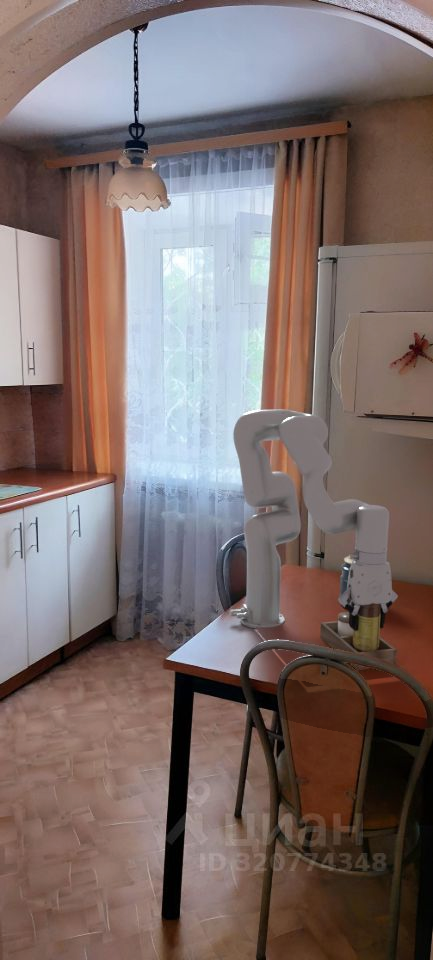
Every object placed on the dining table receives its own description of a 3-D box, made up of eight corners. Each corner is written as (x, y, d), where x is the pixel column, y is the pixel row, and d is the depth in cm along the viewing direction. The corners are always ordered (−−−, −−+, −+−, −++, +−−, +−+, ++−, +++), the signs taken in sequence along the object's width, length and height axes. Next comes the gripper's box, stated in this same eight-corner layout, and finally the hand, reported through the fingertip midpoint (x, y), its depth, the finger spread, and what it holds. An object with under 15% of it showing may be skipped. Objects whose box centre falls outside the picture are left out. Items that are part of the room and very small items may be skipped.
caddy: (355, 673, 157) (356, 654, 156) (320, 639, 176) (320, 622, 175) (395, 668, 160) (396, 649, 159) (356, 636, 179) (357, 619, 178)
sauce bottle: (361, 644, 167) (366, 569, 164) (383, 652, 163) (388, 575, 160) (346, 652, 163) (351, 574, 160) (369, 660, 158) (374, 580, 155)
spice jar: (342, 648, 169) (343, 620, 168) (333, 639, 174) (334, 613, 173) (361, 645, 171) (363, 618, 169) (352, 637, 176) (353, 611, 174)
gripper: (344, 563, 153) (341, 636, 156) (410, 558, 158) (405, 630, 161) (330, 554, 160) (327, 625, 163) (394, 550, 165) (390, 619, 168)
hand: (366, 626), depth 162 cm, fingers closed on sauce bottle, 6 cm apart
